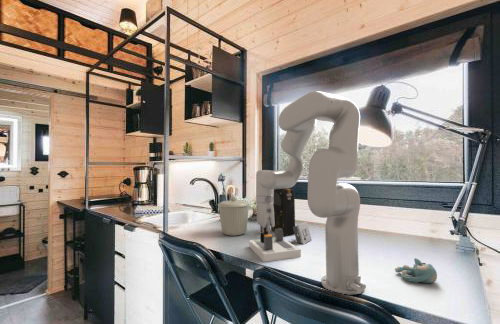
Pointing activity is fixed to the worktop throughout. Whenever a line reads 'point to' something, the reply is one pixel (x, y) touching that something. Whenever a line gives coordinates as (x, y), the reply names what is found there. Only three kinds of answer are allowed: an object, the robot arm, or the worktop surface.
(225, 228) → the canister
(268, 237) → the block
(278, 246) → the white slotted tray
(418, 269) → the stuffed animal
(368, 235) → the worktop surface
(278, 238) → the block
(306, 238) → the electrical switch
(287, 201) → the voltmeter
